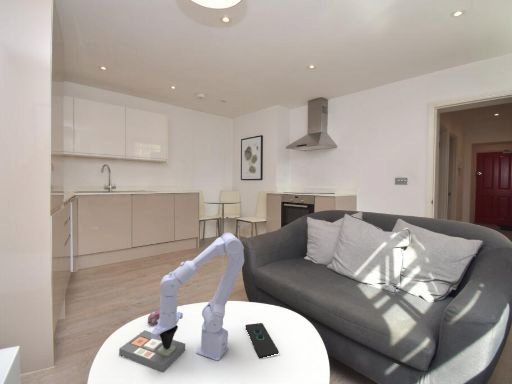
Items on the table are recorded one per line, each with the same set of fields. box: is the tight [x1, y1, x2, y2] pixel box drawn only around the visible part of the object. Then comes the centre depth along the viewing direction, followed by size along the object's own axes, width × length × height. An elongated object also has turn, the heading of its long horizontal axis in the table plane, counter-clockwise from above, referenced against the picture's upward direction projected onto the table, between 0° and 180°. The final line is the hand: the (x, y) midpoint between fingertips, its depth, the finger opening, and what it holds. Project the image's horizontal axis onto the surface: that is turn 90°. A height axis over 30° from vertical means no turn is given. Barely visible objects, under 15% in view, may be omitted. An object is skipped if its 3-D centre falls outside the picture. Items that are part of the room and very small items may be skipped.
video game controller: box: [147, 309, 160, 324], centre depth 114 cm, size 10×5×7 cm
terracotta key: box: [131, 337, 149, 347], centre depth 97 cm, size 4×4×2 cm
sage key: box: [157, 345, 176, 357], centre depth 93 cm, size 4×4×2 cm
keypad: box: [118, 330, 186, 373], centre depth 95 cm, size 19×12×3 cm, turn 70°
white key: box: [144, 339, 162, 352], centre depth 95 cm, size 4×4×2 cm
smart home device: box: [244, 322, 280, 359], centre depth 106 cm, size 8×2×20 cm
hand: (166, 347), depth 93 cm, fingers closed
